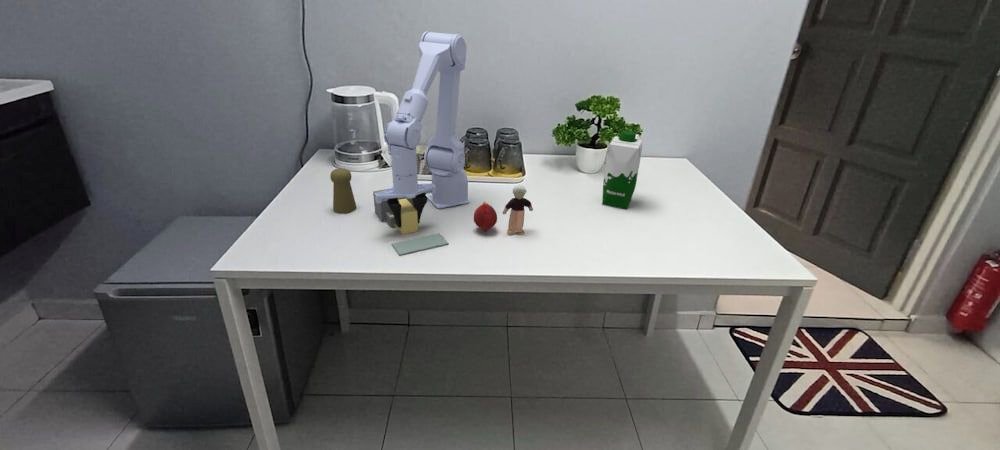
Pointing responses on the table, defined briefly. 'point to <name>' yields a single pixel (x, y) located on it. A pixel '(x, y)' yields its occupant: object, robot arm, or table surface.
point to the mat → (419, 244)
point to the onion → (485, 216)
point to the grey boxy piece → (386, 210)
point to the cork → (342, 191)
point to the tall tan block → (407, 217)
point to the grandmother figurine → (517, 210)
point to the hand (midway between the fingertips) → (407, 223)
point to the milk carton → (621, 170)
